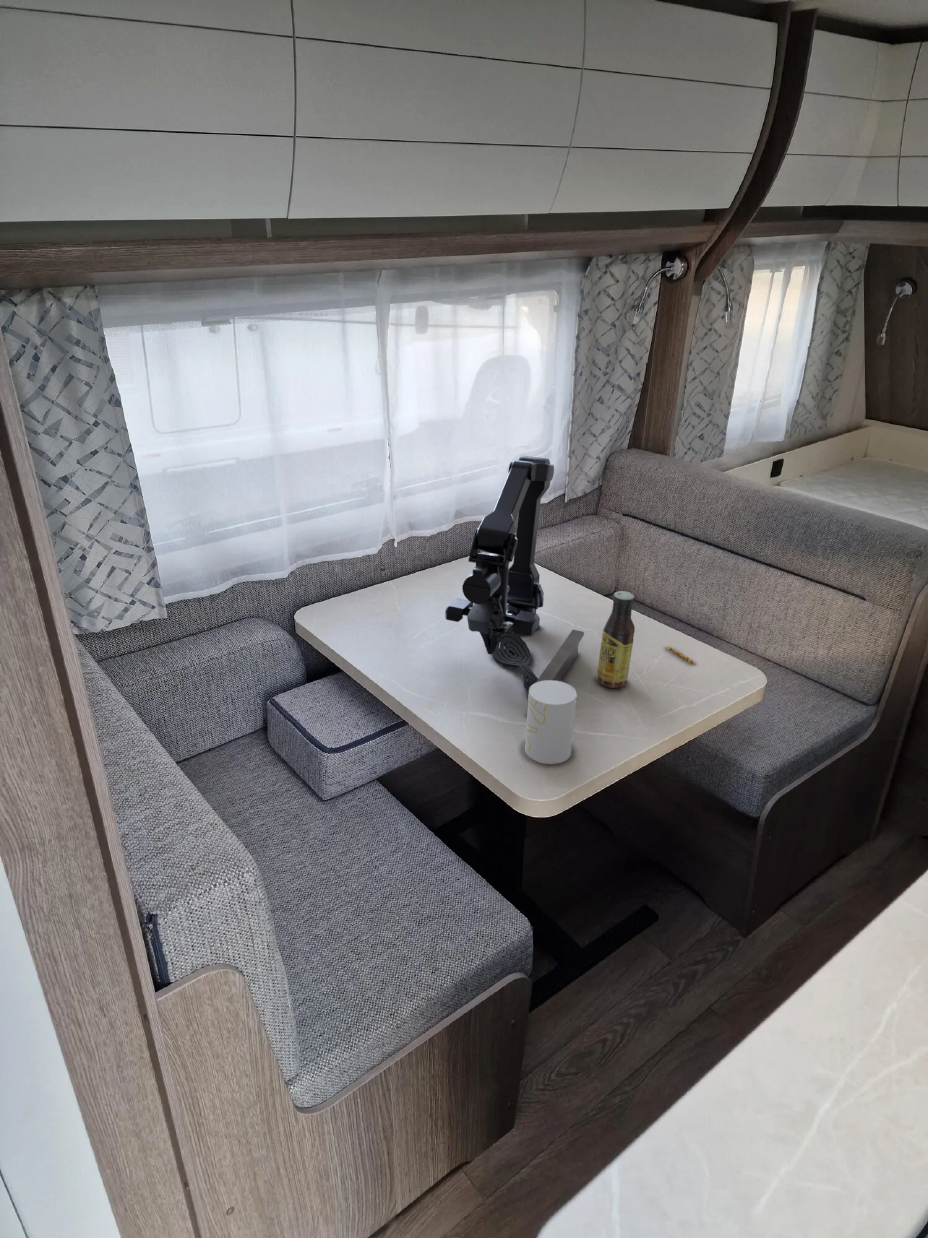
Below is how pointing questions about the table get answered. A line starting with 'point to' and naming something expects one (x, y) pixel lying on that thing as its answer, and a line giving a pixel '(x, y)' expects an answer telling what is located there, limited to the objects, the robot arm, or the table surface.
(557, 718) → the cup
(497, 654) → the hairbrush
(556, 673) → the rail
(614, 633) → the sauce bottle
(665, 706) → the table surface
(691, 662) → the golden brown bumpy stick
